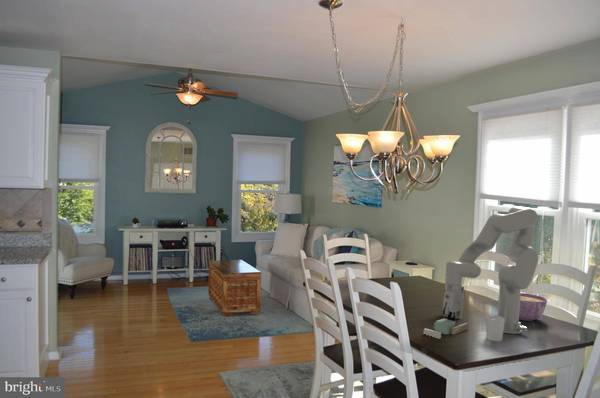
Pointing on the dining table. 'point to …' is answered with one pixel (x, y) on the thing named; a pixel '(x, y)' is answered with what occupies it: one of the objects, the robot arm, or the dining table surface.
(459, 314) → the coffee box
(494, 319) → the white cup
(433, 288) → the dining table surface
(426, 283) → the dining table surface
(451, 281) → the robot arm
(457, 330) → the channel
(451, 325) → the block
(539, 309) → the bowl of food
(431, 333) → the stop bar
